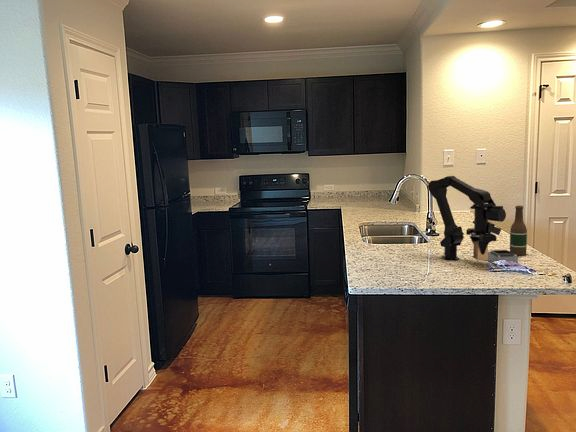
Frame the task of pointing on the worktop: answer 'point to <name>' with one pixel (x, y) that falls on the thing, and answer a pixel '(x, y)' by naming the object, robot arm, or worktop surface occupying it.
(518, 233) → the beer bottle
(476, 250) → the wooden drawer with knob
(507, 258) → the drawer cabinet
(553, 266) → the worktop surface
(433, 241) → the worktop surface
